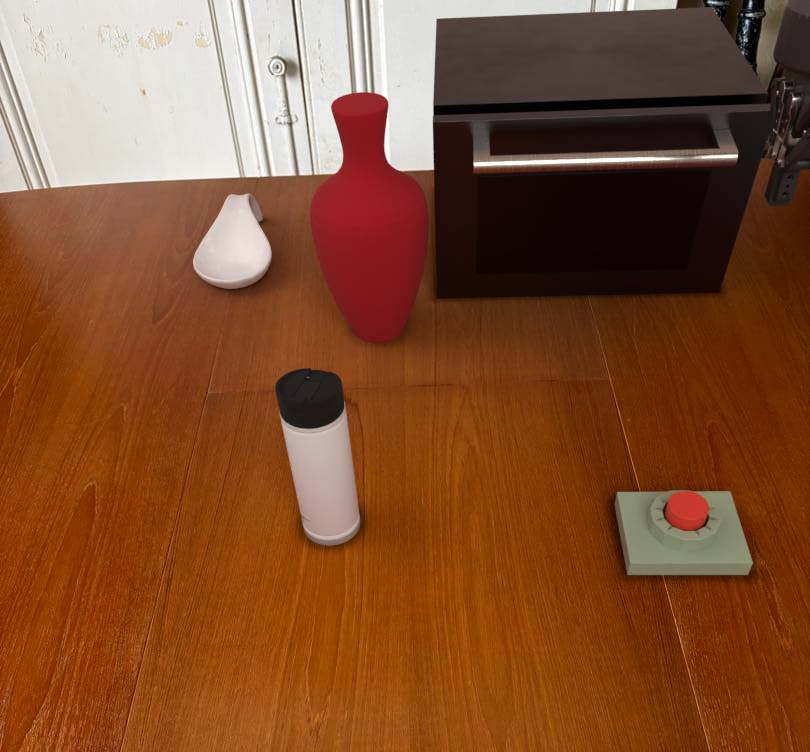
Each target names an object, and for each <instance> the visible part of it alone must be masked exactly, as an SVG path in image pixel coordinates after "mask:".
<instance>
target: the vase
mask: <svg viewBox="0 0 810 752" xmlns="http://www.w3.org/2000/svg"><path fill="white" fill-rule="evenodd" d="M330 111H331V114H332V116H333V120H334V124H335V126H336V130H337V133H338V136H339V140H340V144H341V150H342V163H341V166H340V167H339V169H338V170H337V171H336V172H335V173H334V174H333V175H331V176H330V177H328V178H327V179H326V180H325V181H323V182H322V183H320V185H319V186H318V187H317V188H316V191H315V192H314V194H313V196H312V197H311V198H312V199H311V202H310V209H309V219H310V220H309V221H310V230H311V231H310V232H311V236H312V240H313V241H312V242H313V246H314V249H315V253H316V256H317V259H318V263H319V265H320V268H321V271H322V274H323V277H324V279H325V282H326V285H327V287H328V289H329V292H330V294H331V296H332V298H333V301H334V302H335V304H336V306H337V307H338V310H339V311H340V313H341V314H342V316H343V318H344V320H345V321H346V322H347V324H348V326H349V327H350V328H351V330H352V332H353V333H354V335H355V336H356V337H357V338H358V339H360V340H362V341H364V342H367V343H372V344H379V343H386V342H390V341H392V340H394V339H397V337H399V336H400V335H401V334H402V333H403V331H404V329H405V326H406V324H407V322H408V320H409V317H410V315H411V312H412V310H413V307H414V305H415V302H416V299H417V296H418V293H419V290H420V287H421V282H422V278H423V273H424V268H425V265H426V264H425V263H426V258H427V251H428V243H429V242H428V240H429V226H430V225H429V221H430V219H429V209H428V208H429V207H428V200H427V197H426V195H425V192H424V190H423V188H422V187H421V185H420V184H419V183H418V181H417V180H416V179H414V178H413V177H412V176H410V175H408V174H407V173H405V172H403V171H402V170H399V169H397V168H395V167H393V166H392V165H391V164H390V162H389V161H388V160H387V156H386V155H387V154H386V152H385V137H386V129H387V120H388V112H389V100H388V99H387V97H386V96H384V95H382V94H379V93H375V92H368V91H361V92H352V93H347V94H344V95H341V96H339V97H337V98H335V99H334V100H333V101H332V103H331V105H330Z"/></svg>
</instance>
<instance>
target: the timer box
mask: <svg viewBox="0 0 810 752" xmlns="http://www.w3.org/2000/svg"><path fill="white" fill-rule="evenodd" d="M680 491H690V492H694V493H697V494H699V495H701V496H702V497H704V498H705V499H706V501H707V502H708V504H709V512H708V515H707V518H706V521H705V523H704V525H703V526H702V527H701V528H699V529H697V530H693V531H684V530H680V529H678V528H675V527H673V526H672V525H671V524H670V523H669V522H668V521H667V519H666V517H665V511H666V507H667V504H668V500H669V498H670V497H671V496H672V495H673V494H674V493H677V492H680ZM614 508H615V516H616V520H617V526H618V531H619V537H620V543H621V547H622V554H623V558H624V564H625V570H626V575H628V576H749V573H750V570H751V569H752V567H753V564H754V562H753V559H752V555H751V552H750V549H749V546H748V542H747V540H746V536H745V534H744V530H743V527H742V524H741V521H740V517H739V513H738V511H737V508H736V504H735V501H734V497H733V496H732V492H731V491H730V490H723V491H722V490H720V491H719V490H716V491H715V490H712V491H711V490H709V491H707V490H706V491H705V490H703V491H702V490H701V491H700V490H699V491H696V490H695V491H693V490H689V489H677V490H675V489H673V490H668V491H616V495H615V500H614Z"/></svg>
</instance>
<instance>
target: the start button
mask: <svg viewBox="0 0 810 752" xmlns="http://www.w3.org/2000/svg"><path fill="white" fill-rule="evenodd" d="M690 491H691V490H690ZM690 491H680V492H677V493H674V494H673V495H672V496H671V497H670V498H669V500H668V504H667V507H666V511H665V517H666V519H667V521H668V522H669V523H670V524H671V525H672V526H673V527H675V528H678V529H680V530H684V531H693V530H697V529H699V528H701V527H702V526H703V525H704V523H705V521H706V518H707V515H708V512H709V504H708V502H707V501H706V499H705V498H704V497H702V496H701V495H699V494H697V493H694V492H690Z"/></svg>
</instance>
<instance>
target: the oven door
mask: <svg viewBox="0 0 810 752" xmlns="http://www.w3.org/2000/svg"><path fill="white" fill-rule="evenodd" d="M769 125H770V103H766V104H748V105H720V106H691V107H662V108H633V109H605V110H576V111H547V112H518V113H490V114H461V115H432V150H433V187H434V188H433V191H434V192H433V196H434V197H433V198H434V237H435V269H436V270H435V275H436V276H435V277H436V299H437V300H439V299H440V300H441V299H445V300H446V299H478V298H479V299H483V298H485V299H486V298H487V299H489V298H491V299H493V298H531V297H533V298H534V297H535V298H536V297H539V298H540V297H583V296H585V297H586V296H627V295H629V296H631V295H632V296H633V295H676V294H677V295H678V294H681V295H682V294H683V295H684V294H720V293H721V289H722V285H723V283H724V279H725V277H726V273H727V269H728V267H729V263H730V260H731V257H732V254H733V250H734V248H735V245H736V241H737V237H738V235H739V231H740V228H741V225H742V222H743V219H744V215H745V212H746V209H747V206H748V203H749V199H750V196H751V193H752V190H753V187H754V183H755V180H756V177H757V174H758V171H759V168H760V164H761V162H762V158H763V155H764V151H765V148H766V145H767V141H768V140H769Z"/></svg>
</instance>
